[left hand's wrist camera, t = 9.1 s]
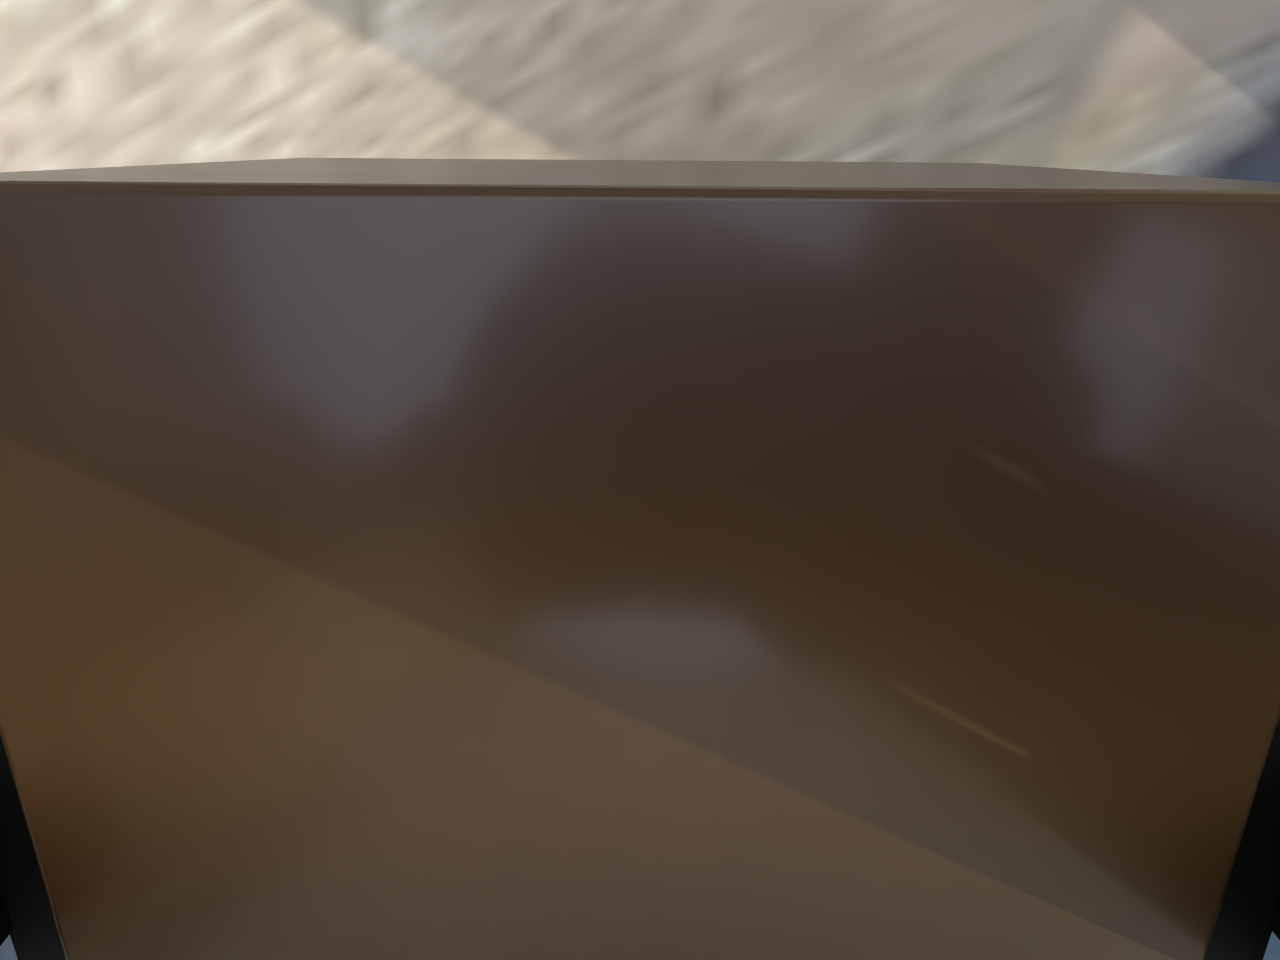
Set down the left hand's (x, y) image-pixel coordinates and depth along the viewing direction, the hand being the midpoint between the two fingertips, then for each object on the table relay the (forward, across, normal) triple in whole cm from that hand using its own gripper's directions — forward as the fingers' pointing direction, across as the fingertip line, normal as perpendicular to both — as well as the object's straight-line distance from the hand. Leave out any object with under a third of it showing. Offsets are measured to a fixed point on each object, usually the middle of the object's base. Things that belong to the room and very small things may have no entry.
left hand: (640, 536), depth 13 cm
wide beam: (+1, 0, -25) cm, 25 cm away
